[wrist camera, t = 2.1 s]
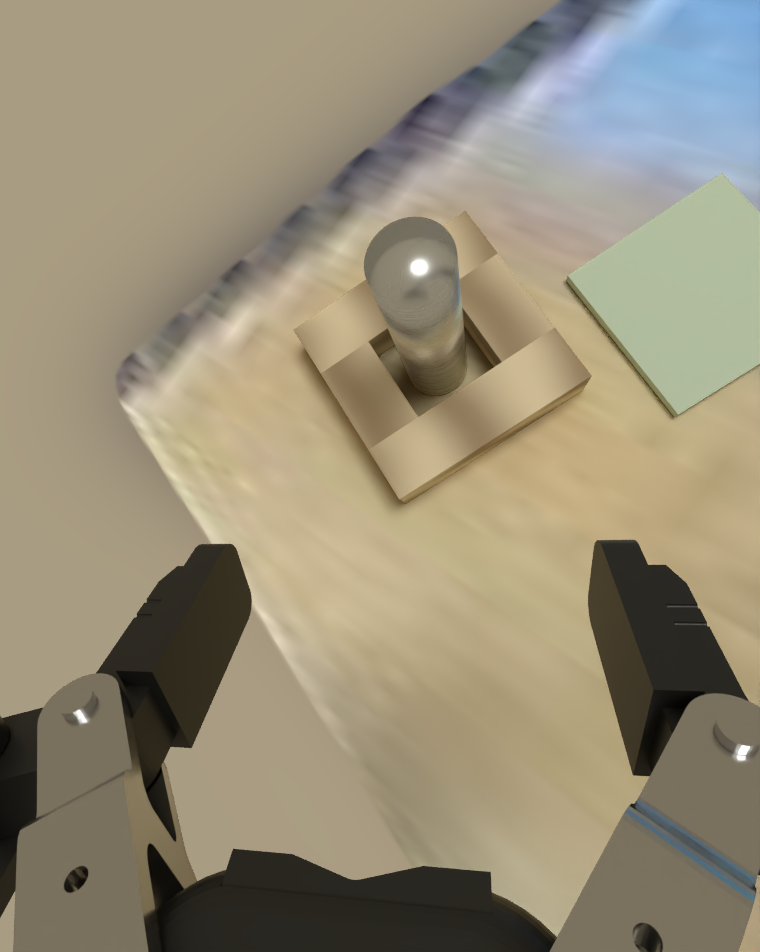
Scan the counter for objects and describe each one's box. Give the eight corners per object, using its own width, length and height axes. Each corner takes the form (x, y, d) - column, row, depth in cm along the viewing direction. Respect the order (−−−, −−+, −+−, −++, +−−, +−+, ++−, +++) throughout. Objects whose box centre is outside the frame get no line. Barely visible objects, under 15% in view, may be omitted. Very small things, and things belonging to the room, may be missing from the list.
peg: (446, 326, 32) (424, 199, 20) (478, 373, 31) (476, 268, 20) (396, 360, 32) (347, 253, 21) (427, 407, 32) (395, 323, 20)
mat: (717, 179, 30) (722, 172, 29) (841, 313, 28) (848, 307, 27) (566, 280, 31) (567, 275, 30) (674, 417, 29) (678, 414, 28)
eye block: (466, 236, 33) (465, 210, 30) (582, 389, 30) (591, 375, 27) (307, 345, 34) (293, 329, 31) (405, 503, 31) (399, 499, 29)
